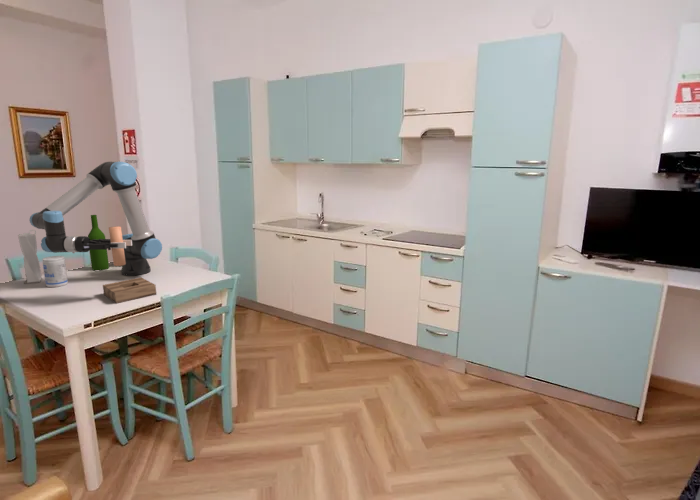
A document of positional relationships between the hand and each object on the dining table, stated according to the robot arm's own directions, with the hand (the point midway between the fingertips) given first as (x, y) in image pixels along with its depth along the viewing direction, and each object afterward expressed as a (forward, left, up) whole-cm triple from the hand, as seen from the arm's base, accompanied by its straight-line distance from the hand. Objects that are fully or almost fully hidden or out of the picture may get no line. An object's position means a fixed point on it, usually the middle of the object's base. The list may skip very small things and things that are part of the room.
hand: (128, 244), depth 195 cm
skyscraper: (-64, -29, -26) cm, 75 cm away
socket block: (-4, -1, -26) cm, 26 cm away
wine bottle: (-68, +4, -26) cm, 73 cm away
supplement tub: (-48, -22, -26) cm, 59 cm away
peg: (-4, -4, -10) cm, 11 cm away
